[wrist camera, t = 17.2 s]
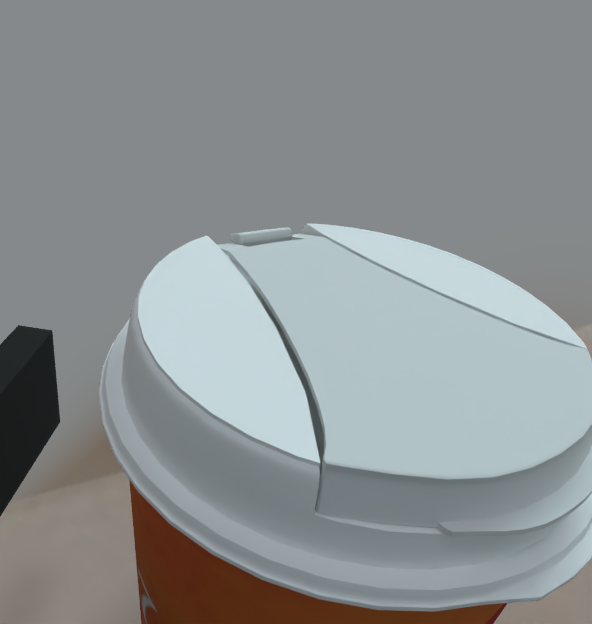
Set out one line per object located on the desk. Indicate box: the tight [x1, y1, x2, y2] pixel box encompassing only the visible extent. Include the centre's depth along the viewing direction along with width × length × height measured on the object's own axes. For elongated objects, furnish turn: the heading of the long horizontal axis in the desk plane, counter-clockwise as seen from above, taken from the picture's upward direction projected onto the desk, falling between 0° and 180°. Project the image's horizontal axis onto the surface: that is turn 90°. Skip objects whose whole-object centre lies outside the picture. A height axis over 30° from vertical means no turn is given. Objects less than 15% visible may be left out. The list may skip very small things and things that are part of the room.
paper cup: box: [99, 224, 592, 624], centre depth 12 cm, size 8×8×14 cm
